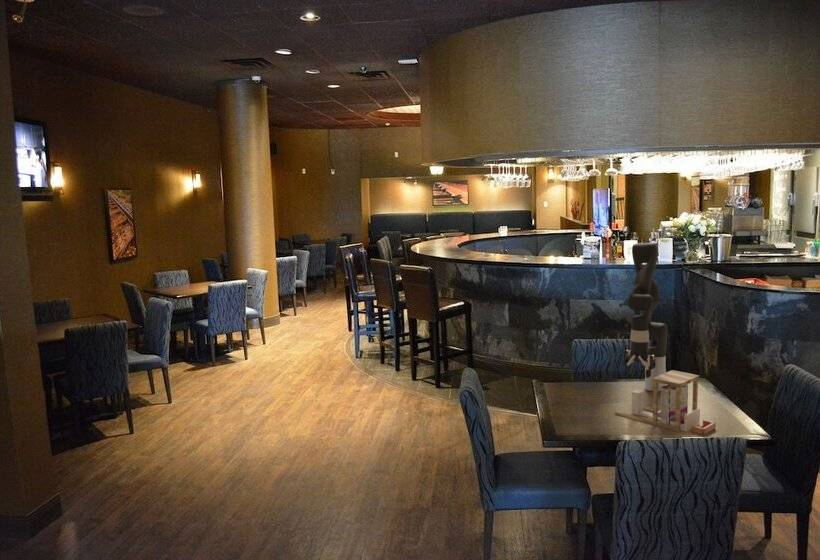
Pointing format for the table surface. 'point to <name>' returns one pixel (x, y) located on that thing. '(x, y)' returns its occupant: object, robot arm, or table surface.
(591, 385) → the table surface
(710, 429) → the tray
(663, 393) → the candy bar box
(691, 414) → the sled
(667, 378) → the tunnel
